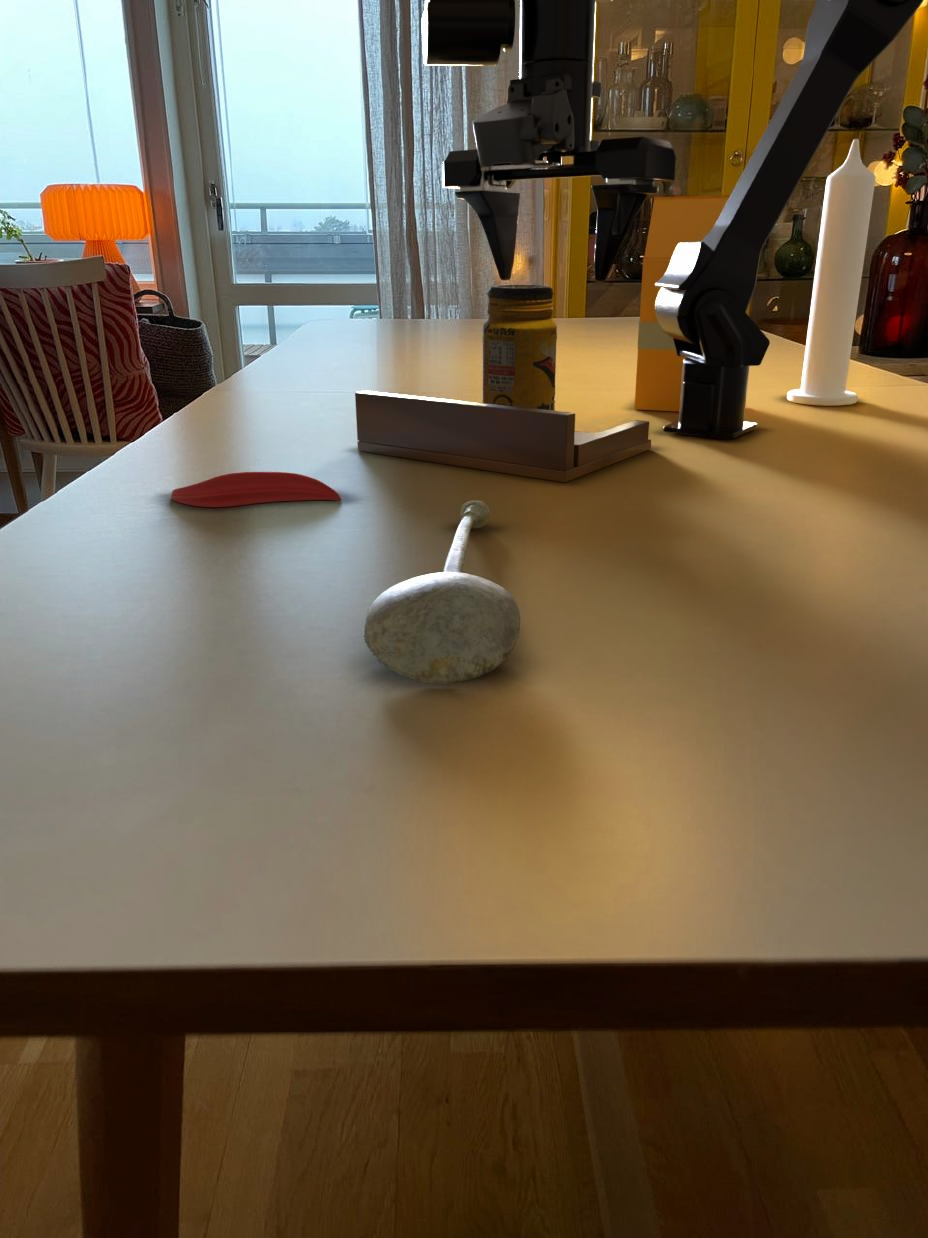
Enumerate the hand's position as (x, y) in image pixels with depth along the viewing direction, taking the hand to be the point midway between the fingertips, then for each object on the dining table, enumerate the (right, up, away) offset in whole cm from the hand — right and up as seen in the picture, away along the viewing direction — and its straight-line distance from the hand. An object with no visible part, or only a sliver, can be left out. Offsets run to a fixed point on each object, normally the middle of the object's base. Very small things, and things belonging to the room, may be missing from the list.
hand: (551, 280), depth 78 cm
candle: (+31, -5, +22) cm, 38 cm away
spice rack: (-4, -14, 0) cm, 15 cm away
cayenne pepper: (-22, -20, -15) cm, 33 cm away
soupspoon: (-8, -27, -31) cm, 42 cm away
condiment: (-4, -13, +1) cm, 14 cm away
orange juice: (+16, -6, +20) cm, 26 cm away
